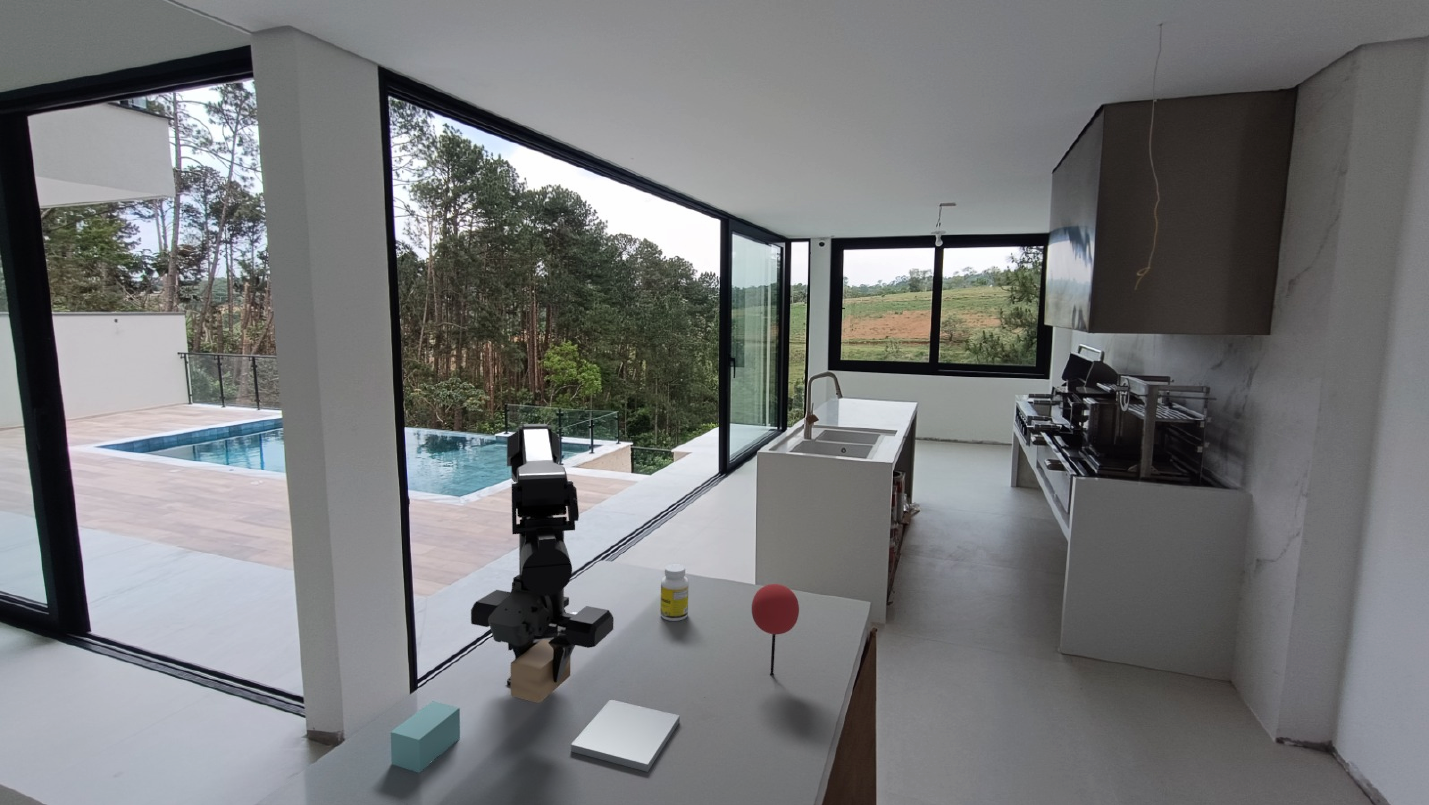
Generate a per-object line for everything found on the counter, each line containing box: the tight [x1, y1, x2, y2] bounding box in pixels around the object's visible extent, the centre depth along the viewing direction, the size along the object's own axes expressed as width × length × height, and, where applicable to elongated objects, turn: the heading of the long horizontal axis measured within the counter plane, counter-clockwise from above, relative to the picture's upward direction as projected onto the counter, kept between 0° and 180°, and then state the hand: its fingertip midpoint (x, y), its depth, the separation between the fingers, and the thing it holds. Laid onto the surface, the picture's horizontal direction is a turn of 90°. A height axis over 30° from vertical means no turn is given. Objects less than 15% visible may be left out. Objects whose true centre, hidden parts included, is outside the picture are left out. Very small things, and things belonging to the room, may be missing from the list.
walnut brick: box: [510, 639, 572, 704], centre depth 85 cm, size 7×4×4 cm, turn 160°
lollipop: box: [751, 583, 800, 676], centre depth 103 cm, size 8×8×15 cm
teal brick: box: [390, 700, 461, 773], centre depth 82 cm, size 7×4×4 cm, turn 162°
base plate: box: [570, 699, 681, 773], centre depth 86 cm, size 11×11×1 cm
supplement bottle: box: [659, 563, 689, 622], centre depth 123 cm, size 5×5×10 cm
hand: (541, 677), depth 85 cm, fingers closed on walnut brick, 4 cm apart
